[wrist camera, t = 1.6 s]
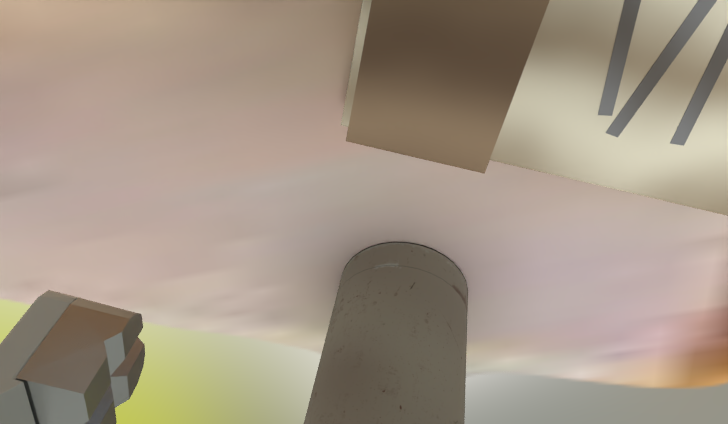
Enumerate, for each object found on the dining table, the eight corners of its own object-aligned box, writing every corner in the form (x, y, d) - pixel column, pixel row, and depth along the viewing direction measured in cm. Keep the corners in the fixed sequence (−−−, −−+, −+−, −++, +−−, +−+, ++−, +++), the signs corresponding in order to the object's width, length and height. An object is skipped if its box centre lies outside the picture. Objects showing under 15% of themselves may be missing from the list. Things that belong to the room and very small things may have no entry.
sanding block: (408, -143, 22) (392, -114, 18) (560, -108, 21) (576, -72, 18) (365, 82, 27) (345, 140, 23) (484, 109, 27) (484, 173, 23)
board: (409, -237, 21) (403, -234, 20) (934, -116, 21) (970, -103, 20) (348, 104, 30) (340, 125, 29) (717, 191, 30) (730, 216, 29)
